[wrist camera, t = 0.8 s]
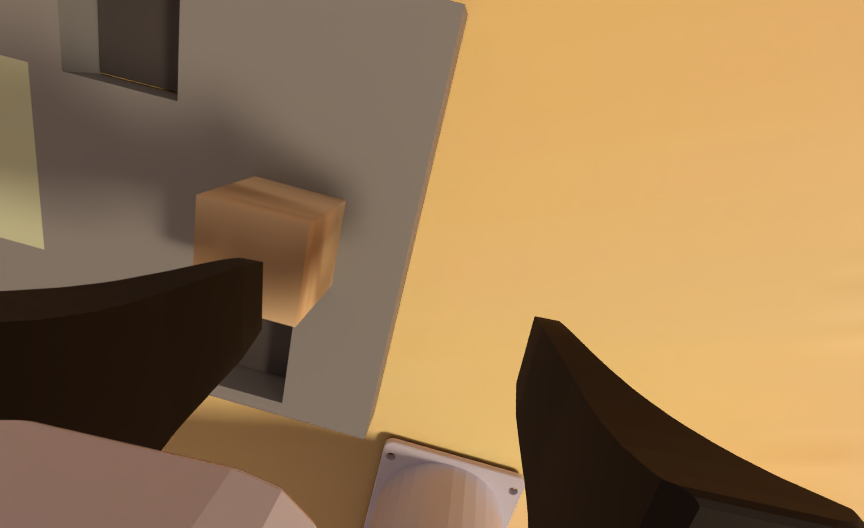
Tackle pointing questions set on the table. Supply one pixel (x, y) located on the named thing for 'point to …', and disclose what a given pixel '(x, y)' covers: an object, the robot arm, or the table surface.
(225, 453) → the table surface
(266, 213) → the maple block
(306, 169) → the trap board
